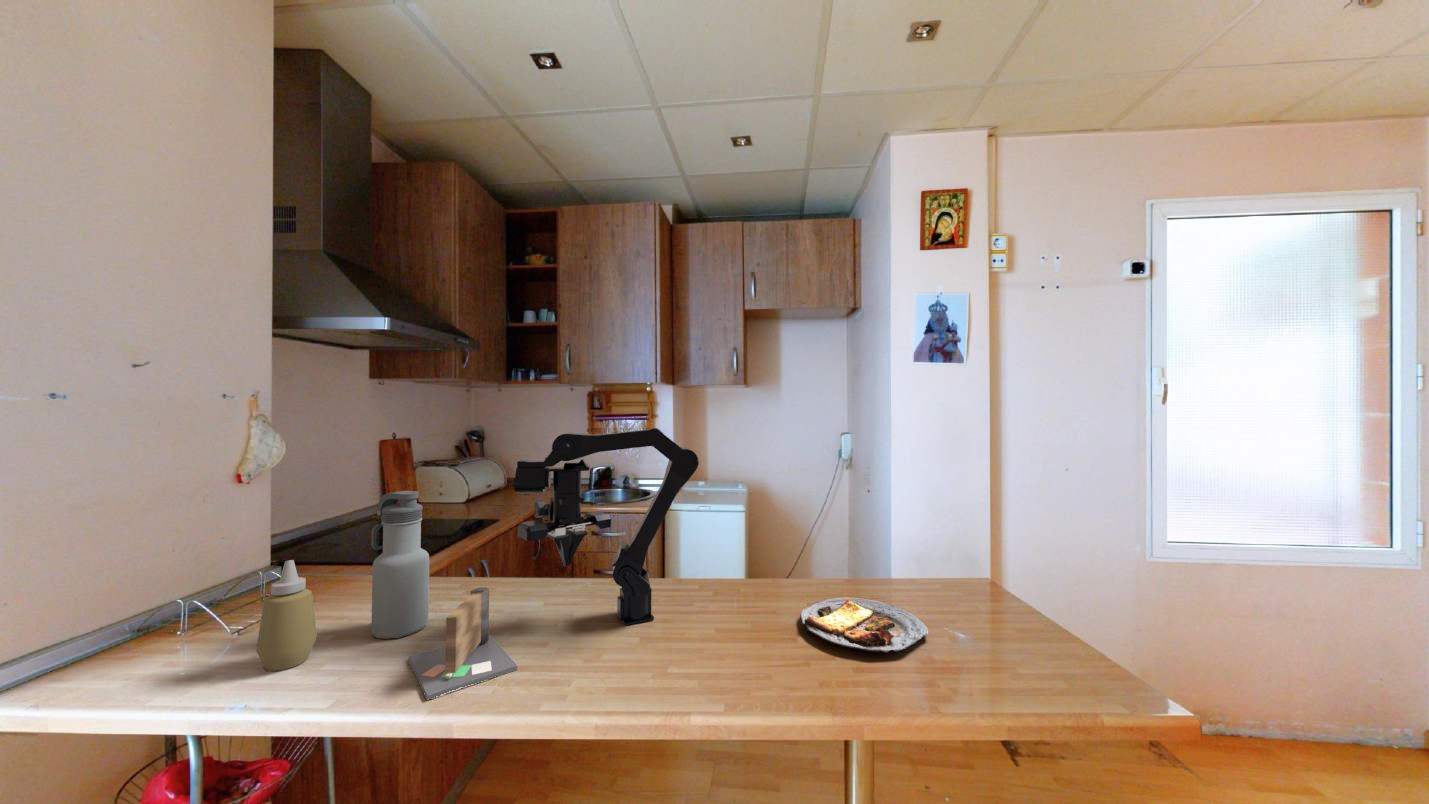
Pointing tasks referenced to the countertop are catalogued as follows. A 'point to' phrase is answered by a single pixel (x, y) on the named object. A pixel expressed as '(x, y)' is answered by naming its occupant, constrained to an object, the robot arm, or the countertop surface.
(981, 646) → the countertop surface
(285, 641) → the squeeze bottle
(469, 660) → the grey flat board
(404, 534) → the water bottle
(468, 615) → the upright wooden block
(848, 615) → the food plate
